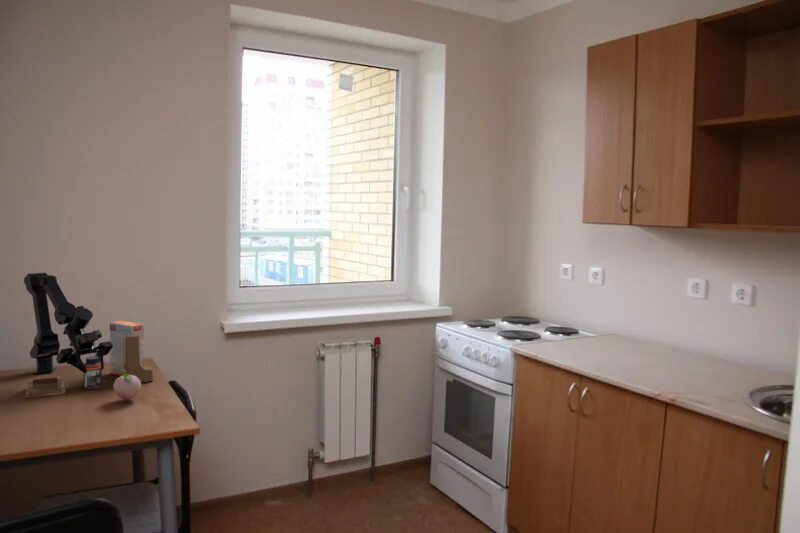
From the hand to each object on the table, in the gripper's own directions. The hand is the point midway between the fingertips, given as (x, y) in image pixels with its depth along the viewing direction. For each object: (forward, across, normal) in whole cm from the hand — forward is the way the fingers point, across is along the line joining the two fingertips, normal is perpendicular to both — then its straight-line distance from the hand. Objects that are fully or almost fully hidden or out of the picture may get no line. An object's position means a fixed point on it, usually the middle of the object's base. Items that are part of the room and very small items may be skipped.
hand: (94, 370), depth 222 cm
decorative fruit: (+20, -1, -11) cm, 23 cm away
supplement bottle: (+4, 0, +6) cm, 7 cm away
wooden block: (+8, +15, +2) cm, 17 cm away
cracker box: (0, +17, +10) cm, 20 cm away
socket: (-2, -12, +12) cm, 17 cm away
